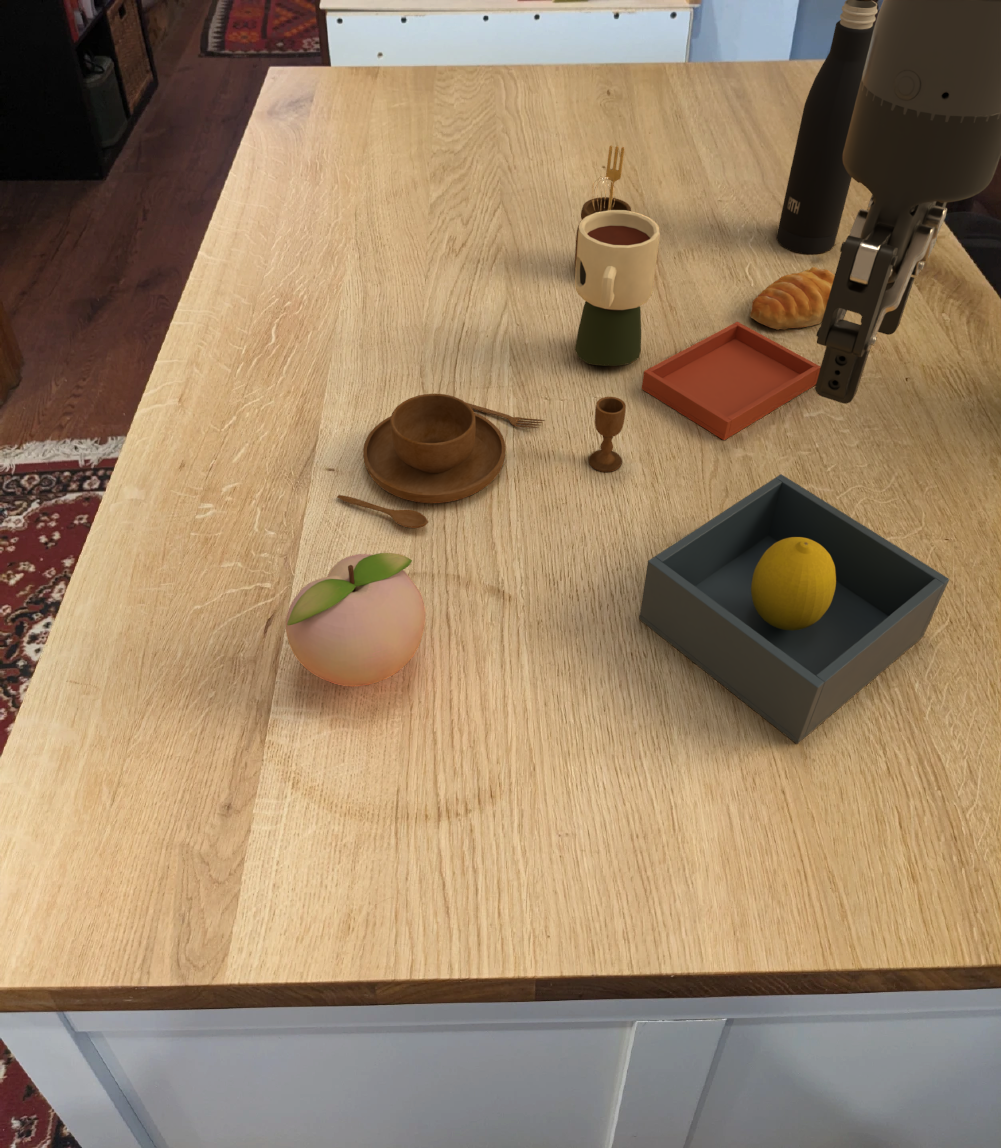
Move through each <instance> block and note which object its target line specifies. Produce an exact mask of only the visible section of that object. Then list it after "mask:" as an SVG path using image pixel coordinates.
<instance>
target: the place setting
mask: <svg viewBox="0 0 1001 1148" xmlns="http://www.w3.org/2000/svg"><path fill="white" fill-rule="evenodd" d="M626 408H627V405H626V403H625V401H624V400H622V398H619V397H616V396H604V397H601V398H599V399H598V400H597V401H596V403H595V408H594V409H595V410H594V426H595V430H596V432H597V433H598V434H599V435H600V436H602V441H601V443H600V448H599V450H595V451H593V452H592V453H591V454H590V455H589V457H588V463H589V465H590V467H591V468H592V469H594V470H595V471H598V472H602V473H613V472H615V471H617V470H618V469H620V467H621V466H622V464H623V459H622V457H621V455H620V454H619V453H618V452H615V451H614V450H613V449H614V444H613V438H614V437H616V436H618V435H619V434H620V433H621V431H622V430H623V428H624V424H625V419H626ZM474 410H475V411H478V412H482V413H485V414H489V415H491V416H496V417H499V418H503V419H505V420H508V421H509V423H510V425H512V426H513V427H518V428H527V429H528V428H529V429H538V428H540V424H543V422H545V419H539V418H538V419H537V418H528V417H527V418H526V417H521V416H512V415H510V414H507V413H504V412H501V411H496V410H493V409H490V408H487V407H484V406H479V405H476V404H472V403H469V402H465V401H464V400H463V399H461V398H459V397H456V396H454V395H450V394H445V393H424V394H423V393H422V394H420V395H415V396H412V397H410V398H408V399H406V400H404V401H402V402H400V404H398V405H397V406H396V407H395V408H394V410H393V411H392V413H391V415H390V416H388V417H386V418H384V419H383V420H382V421H381V422H379V423H378V424H376V426H374V427H373V428H372V430H371V431H370V432H369V433H368V435H367V437H366V438H365V441H364V444H363V449H362V457H363V461H364V466H365V469H366V471H367V473H368V475H369V476H370V478H371V479H372V480H373V481H374V482H375V483H376V484H377V486H378V487H380V488H382V489H383V490H384V491H386V492H388V493H389V494H391V495H393V496H396V497H397V498H400V499H403V500H407V501H411V502H416V503H421V504H422V503H424V504H441V503H444V504H445V503H450V502H454V501H459V500H462V499H466V498H468V497H471V496H473V495H475V494H477V493H479V492H480V491H482V490H483V489H485V488H486V487H488V486H489V485H490V484H491V483H492V482H494V480H495V479H496V478H497V477H498V475H499V474H500V472H501V470H502V468H503V466H504V463H505V459H506V449H507V447H506V446H507V445H506V441H505V438H504V436H503V434H502V432H501V430H500V429H499V428H498V427H497V426H496V425H495V423H493V422H492V421H491V420H490V419H488V418H486V417H485V416H483V415H481V414H479V413H477V412H475V411H474ZM336 498H337V499H338V500H340V501H343V502H346V503H349V504H352V505H355V506H359V507H362V508H367V509H370V510H374V511H376V512H380V513H383V514H385V515H387V516H389V517H390V518H391V520H392V521H394V523H395V524H398V525H399V526H401V527H405V528H411V529H419V528H424V527H426V526H427V524H428V523H429V520H428V519H427V517H426V516H425V515H424V514H423V513H421V512H419V511H417V510H414V509H393V508H392V509H391V508H387V507H384V506H380V505H378V504H375V503H371V502H368V501H364V500H362V499H359V498H355V497H352V496H348V495H343V494H338V495H337V496H336Z"/></svg>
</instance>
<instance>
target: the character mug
mask: <svg viewBox="0 0 1001 1148" xmlns="http://www.w3.org/2000/svg"><path fill="white" fill-rule="evenodd" d="M580 221H581V220H580ZM580 221H579V223H580V224H579V223H578V225H579V231H578V245H577V259H576V268H575V277H574V287H575V291H576V293H577V294H578V296H580V298H581V299H582V300H583V301H585V302H584V305H583V308H582V312H581V317H580V321H579V324H578V330H577V334H576V341H575V347H574V351H575V353H576V355H577V358H579V359H580V360H582V361H583V362H584V363H586V364H588V365H595V366H602V367H603V366H607V367H608V366H609V367H614V366H615V367H616V366H617V367H619V366H624V365H629V364H632V363H634V362H635V361H636V360H638V359H639V358H640V355H641V351H642V315H641V314H642V313H641V312H642V311H641V306H642V305H644V304H647V303H648V301H649V300H650V298H651V297H652V296H653V291H654V284H655V276H656V268H657V259H658V252H659V245H660V244H659V243H660V226H659V224H657V222H655V220H654V219H652V217H649V216H646V215H645V214H642V213H640V212H636V211H632V210H631V211H626V210H608V211H602V212H596V213H594V214H591V215H589V216H586V217H585V218H584V219H583V220H582V221H581V222H580Z"/></svg>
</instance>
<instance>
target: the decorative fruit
mask: <svg viewBox="0 0 1001 1148" xmlns="http://www.w3.org/2000/svg"><path fill="white" fill-rule="evenodd" d="M412 562H413V560H412V559H411V558H410V557H407V556H406V555H403V554H400V553H396V552H395V553H394V552H380V553H374V554H370V553H358V554H353V555H348V556H346V557H344V558H342V559H340V560H338V561H337V563H336V564H334V565H333V567H332V568H331V569H330V571H329V572H328V574H327V575H326V576H325V577H321V578H318V579H315V580H312V581H310V582H308V584H306V585H305V586H303V587H302V588H301V589H300V590H299V592H298V593H297V594H296V596H295V597H294V598H293V600H292V601H291V603H290V605H289V607H288V610H287V612H286V615H285V616H286V617H285V633H286V638H287V642H288V644H289V647H290V649H291V651H292V654H293V655H294V657H295V658H296V659H297V661H298V662H299V663H300V664H301V665H302V666H303V667H304V668H305V669H306V670H308V671H309V672H310V673H311V674H313V675H314V676H315V677H317V678H320V679H322V680H324V681H327V682H329V683H332V684H335V685H339V686H344V687H363V686H369V685H373V684H376V683H380V682H383V681H385V680H387V679H389V678H391V677H392V676H393V675H395V674H397V673H398V672H399V671H400V670H402V669H403V668H404V667H405V666H406V665H407V664H408V663H409V662H410V661H411V660H412V658H413V657H414V656H415V654H416V653H417V650H418V649H419V647H420V644H421V642H422V638H423V635H424V631H425V626H426V607H425V602H424V599H423V595H422V593H421V591H420V589H419V587H418V586H417V585H416V584H415V582H414V581H413V580H412V578H411V577H410V576H409V575H408V574H407V572H406V571H405V569H407V568H408V567H409V566H410V565H411V564H412Z"/></svg>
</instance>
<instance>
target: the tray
mask: <svg viewBox="0 0 1001 1148" xmlns="http://www.w3.org/2000/svg"><path fill="white" fill-rule="evenodd" d="M820 368H821V365H819V364H817V363H815V362H813V361H812V360H810V359H808V358H806V357H804V356H802V355H800V354H798V353H797V352H795V351H793V350H791V349H789V348H788V347H785V345H784V346H783V345H782V344H780V343H778V342H776V341H775V340H772V339H770V338H768V337H767V336H765V335H763V334H761V333H759V332H758V331H756V330H754V329H752V328H751V327H748V326H747V325H745V324H743V323H740V322H739V321H736V322H734V323H732V324H730V325H728V326H726V327H724V328H723V329H721V330H719V331H716V332H714V333H713V334H711V335H709V336H707V337H706V338H705V337H704V339H701V340H700V341H698V342H696V343H694V344H692V345H690V346H689V347H686V348H685V349H682V350H681V351H679V352H677V353H675V354H673V355H671V356H670V357H668V358H666V359H664V360H662V361H659V362H658V363H656V364H654V365H653V366H651V367H649V368H646V369H645V370H644V371H643V375H642V382H641V383H642V384H641V390H642V391H644V392H646V393H647V394H649V395H651V396H652V397H654V398H655V399H657V400H658V401H660V402H662V403H663V404H665V405H666V406H667V407H670V408H671V409H673V410H675V411H676V412H678V413H679V414H680V415H683V416H684V417H685V418H688V419H689V420H691V421H692V422H694V423H695V424H697V425H699V426H701V427H702V428H703V429H705V430H706V431H709V432H710V433H711V434H713V435H715V436H716V437H718V438H719V439H721V440H722V441H726V440H727V439H729V438H731V437H732V436H734V435H736V434H737V433H739V432H740V431H742V430H744V429H745V428H747V427H749V426H750V425H752V424H754V423H755V422H758V420H760V419H762V418H764V417H765V416H767V415H768V414H770V413H772V412H774V411H775V410H777V409H779V408H780V407H782V406H783V405H785V404H787V403H788V402H790V401H791V400H793V399H794V398H797V397H798V396H800V395H802V394H804V393H805V392H806V391H809V390H810V389H811V388H814V387H815V386H816V383H817V379H818V375H819V372H820Z"/></svg>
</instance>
